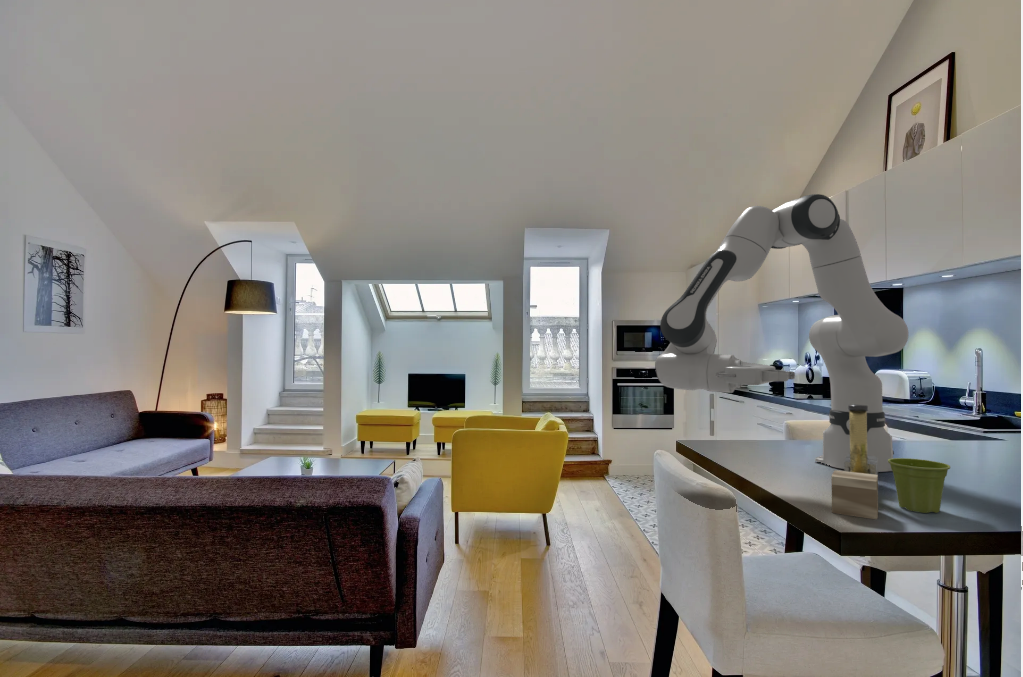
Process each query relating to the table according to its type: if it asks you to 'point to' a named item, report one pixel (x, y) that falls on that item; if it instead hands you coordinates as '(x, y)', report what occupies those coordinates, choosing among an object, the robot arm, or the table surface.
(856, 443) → the slip tube
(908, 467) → the plant pot
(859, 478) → the socket block
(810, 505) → the table surface
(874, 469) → the sleeve
